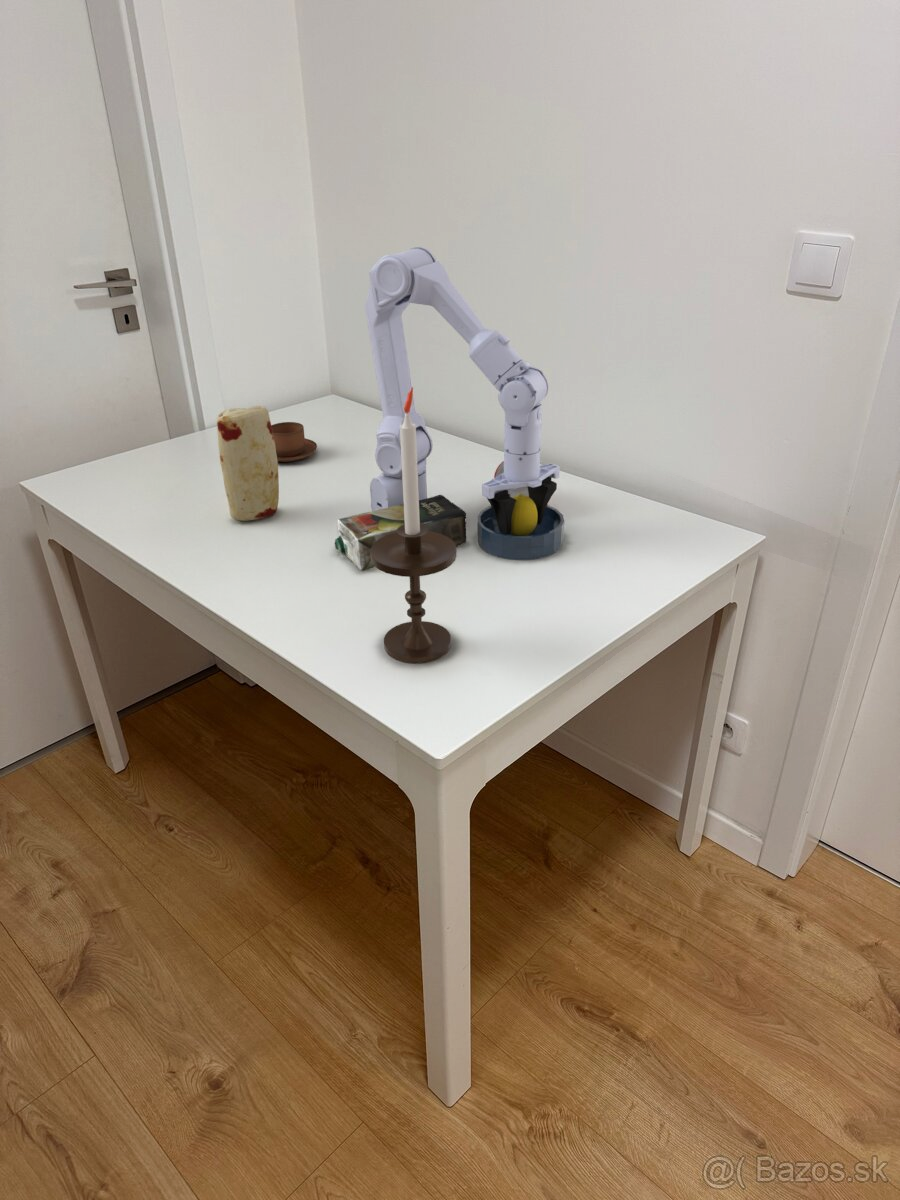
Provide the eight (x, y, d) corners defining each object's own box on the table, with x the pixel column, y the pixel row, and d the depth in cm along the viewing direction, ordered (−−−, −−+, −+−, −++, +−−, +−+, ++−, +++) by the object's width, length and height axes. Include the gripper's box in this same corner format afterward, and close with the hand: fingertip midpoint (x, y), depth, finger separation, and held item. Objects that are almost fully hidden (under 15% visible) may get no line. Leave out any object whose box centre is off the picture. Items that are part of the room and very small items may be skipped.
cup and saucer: (253, 451, 179) (249, 423, 176) (308, 442, 183) (305, 415, 180) (268, 470, 170) (263, 441, 166) (325, 460, 174) (322, 431, 171)
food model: (236, 529, 146) (218, 417, 136) (224, 516, 151) (205, 406, 141) (289, 516, 150) (275, 406, 140) (275, 503, 155) (261, 396, 145)
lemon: (536, 531, 142) (538, 487, 138) (536, 546, 138) (538, 501, 133) (504, 531, 143) (504, 487, 139) (502, 545, 138) (503, 500, 134)
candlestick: (451, 619, 119) (446, 371, 101) (464, 662, 110) (460, 398, 92) (374, 627, 118) (355, 377, 100) (380, 671, 108) (361, 404, 91)
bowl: (513, 568, 132) (514, 545, 130) (460, 536, 142) (460, 515, 140) (580, 543, 139) (582, 521, 137) (525, 515, 149) (526, 494, 147)
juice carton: (355, 574, 131) (352, 538, 128) (332, 549, 139) (329, 515, 136) (468, 545, 139) (468, 511, 136) (440, 524, 147) (439, 491, 144)
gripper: (501, 466, 126) (500, 548, 133) (574, 445, 133) (569, 523, 140) (473, 453, 131) (473, 532, 138) (544, 433, 138) (541, 510, 145)
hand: (520, 527), depth 139 cm, fingers open, 6 cm apart
